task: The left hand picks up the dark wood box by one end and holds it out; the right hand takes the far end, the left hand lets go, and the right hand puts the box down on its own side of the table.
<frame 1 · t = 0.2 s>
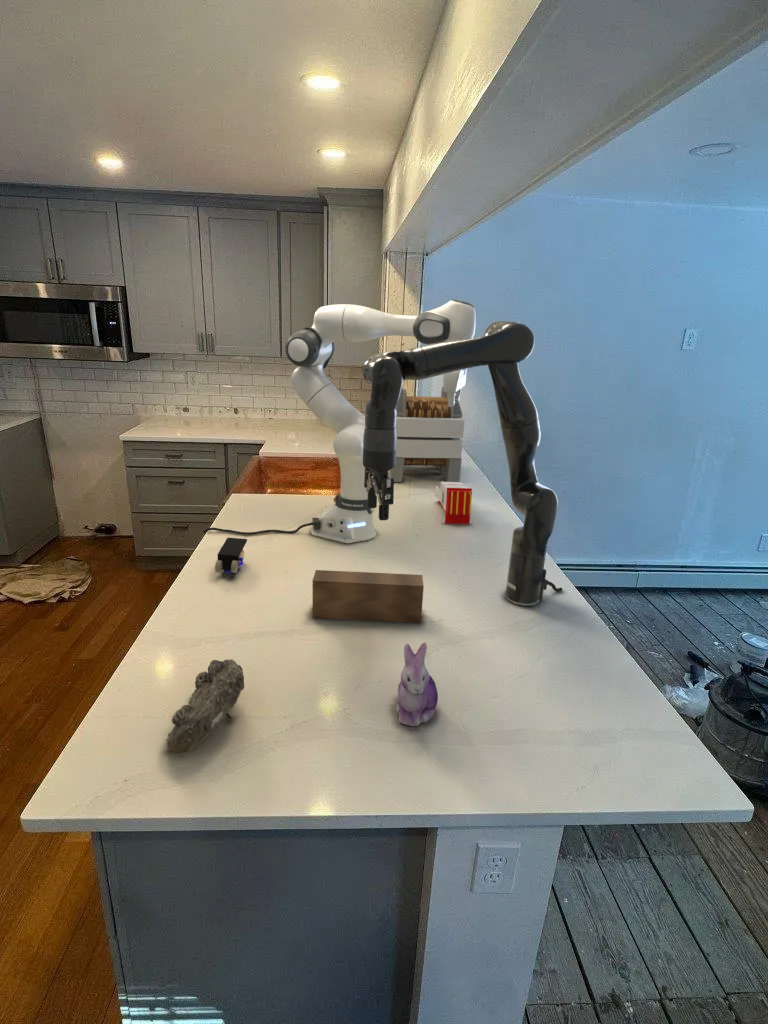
left hand: (453, 404, 174), 48 cm above the counter, tool pointing down, fingers open, 8 cm apart
right hand: (377, 513, 134), 29 cm above the counter, tool pointing down, fingers open, 8 cm apart
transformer: (419, 473, 275), on the counter
black wheeled vehicle: (232, 569, 168), on the counter
figurine: (415, 712, 112), on the counter
toy: (451, 512, 224), on the counter
fossil: (212, 717, 108), on the counter
box: (367, 614, 147), on the counter
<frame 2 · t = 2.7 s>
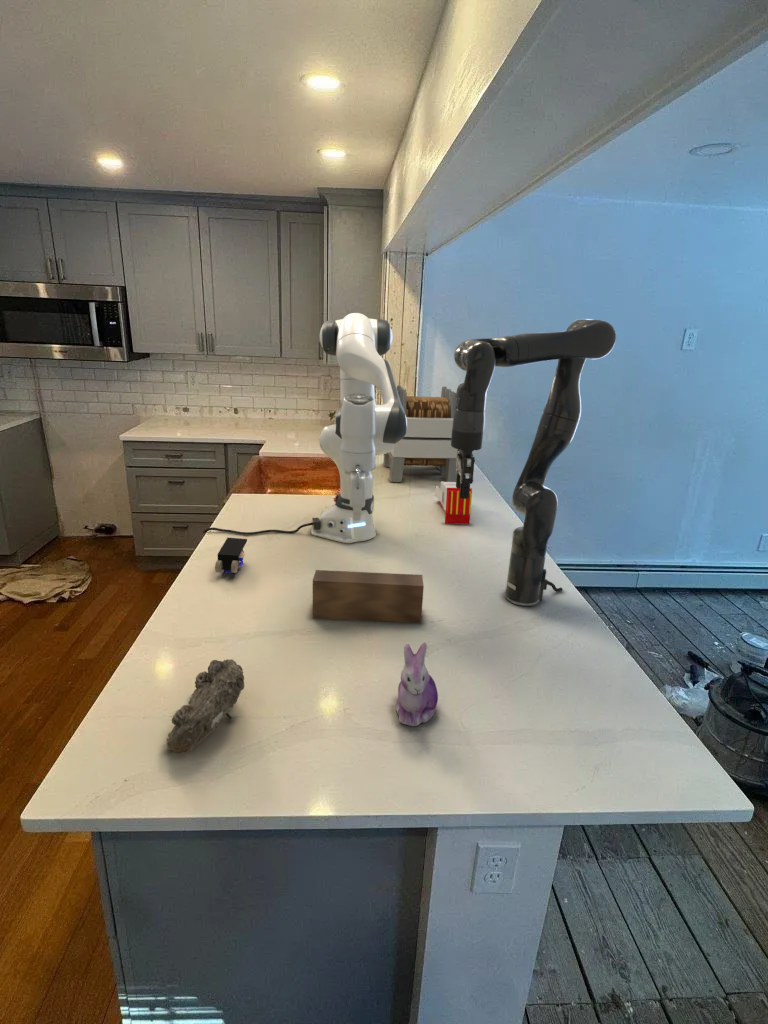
left hand: (356, 513, 145), 25 cm above the counter, tool pointing down, fingers open, 8 cm apart
right hand: (462, 492, 140), 33 cm above the counter, tool pointing down, fingers open, 8 cm apart
nothing on the counter moved.
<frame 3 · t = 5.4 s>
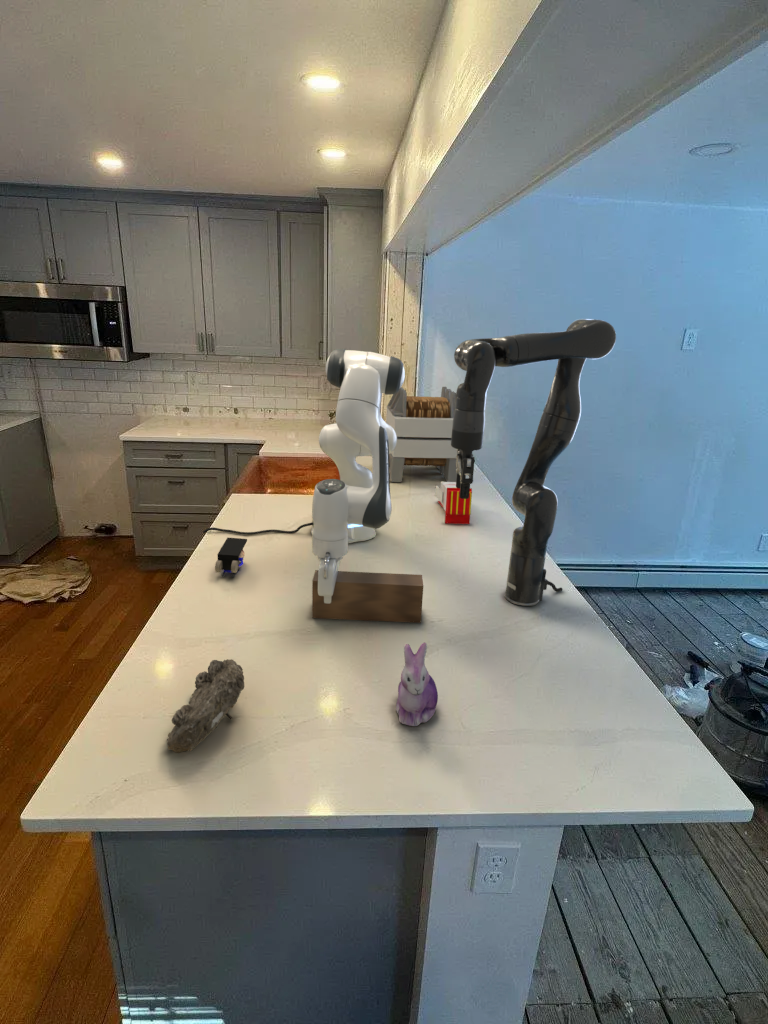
left hand: (329, 594, 145), 5 cm above the counter, tool pointing down, fingers closed on box, 6 cm apart
right hand: (462, 492, 140), 33 cm above the counter, tool pointing down, fingers open, 8 cm apart
box: (367, 614, 147), on the counter, touching left hand
everything else where it was.
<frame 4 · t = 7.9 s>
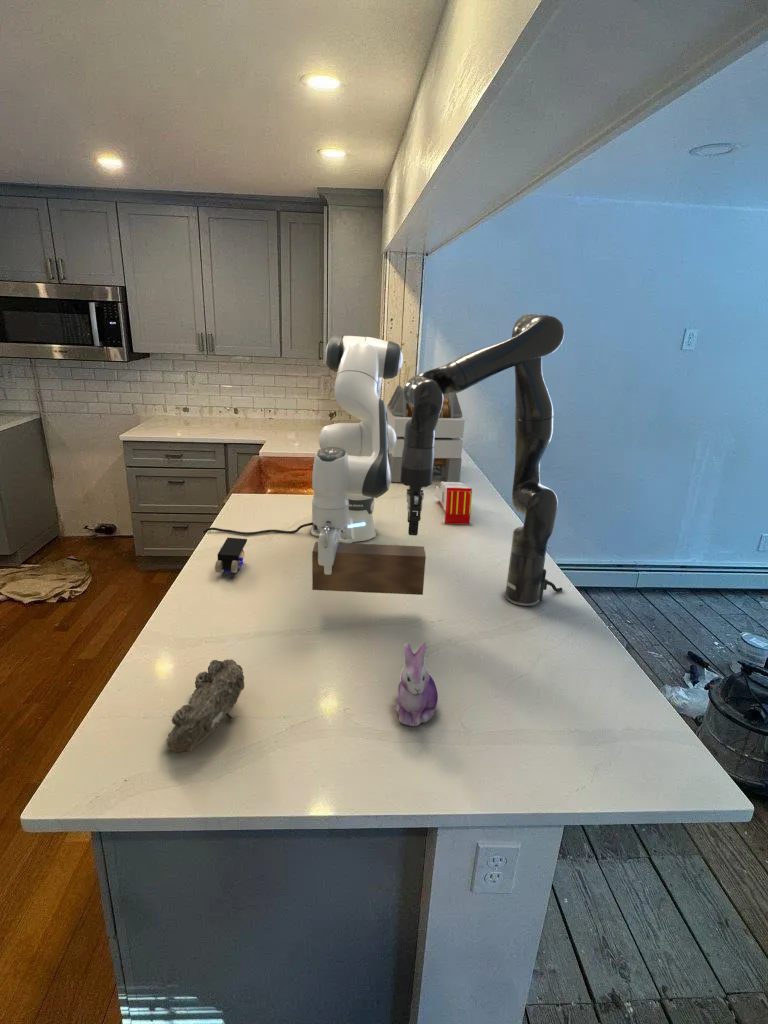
left hand: (329, 566, 142), 13 cm above the counter, tool pointing down, fingers closed on box, 6 cm apart
right hand: (412, 528, 139), 24 cm above the counter, tool pointing down, fingers open, 8 cm apart
box: (368, 586, 144), point 8 cm above the counter, touching left hand
everything else where it was.
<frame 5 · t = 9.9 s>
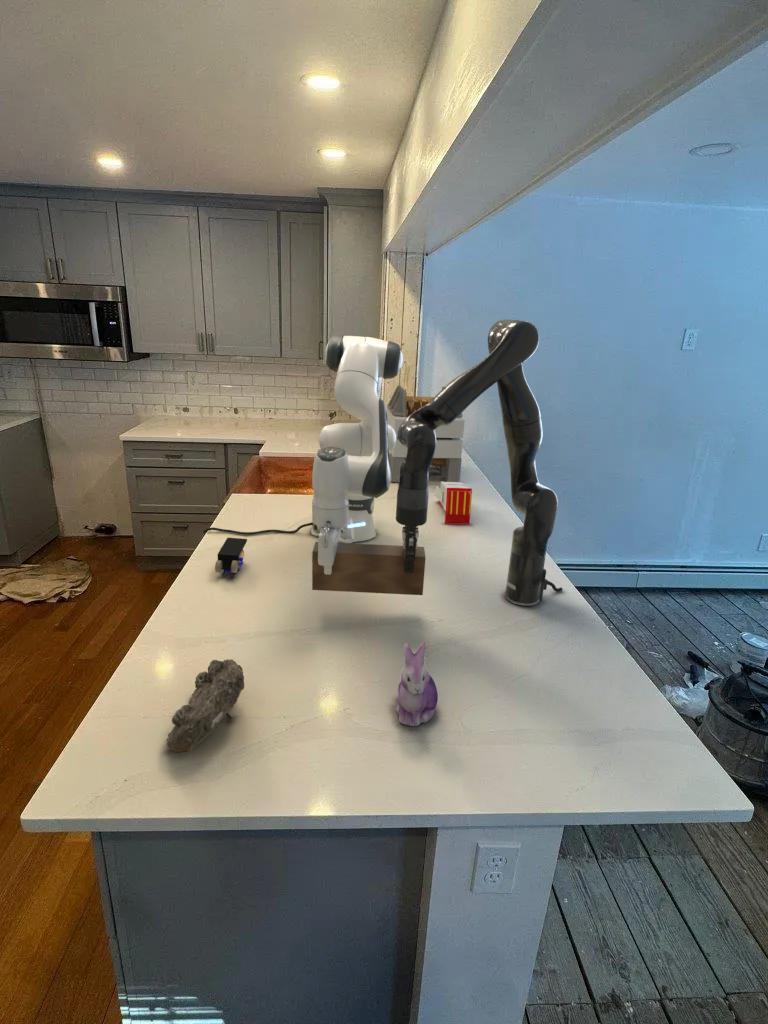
left hand: (329, 566, 142), 13 cm above the counter, tool pointing down, fingers closed on box, 6 cm apart
right hand: (408, 566, 142), 14 cm above the counter, tool pointing down, fingers closed on box, 6 cm apart
box: (367, 587, 144), point 8 cm above the counter, touching left hand, right hand
everything else where it was.
when the left hand's fingers open (13 cm above the counter, at t = 11.0 s): box stays where it is, held by the right hand.
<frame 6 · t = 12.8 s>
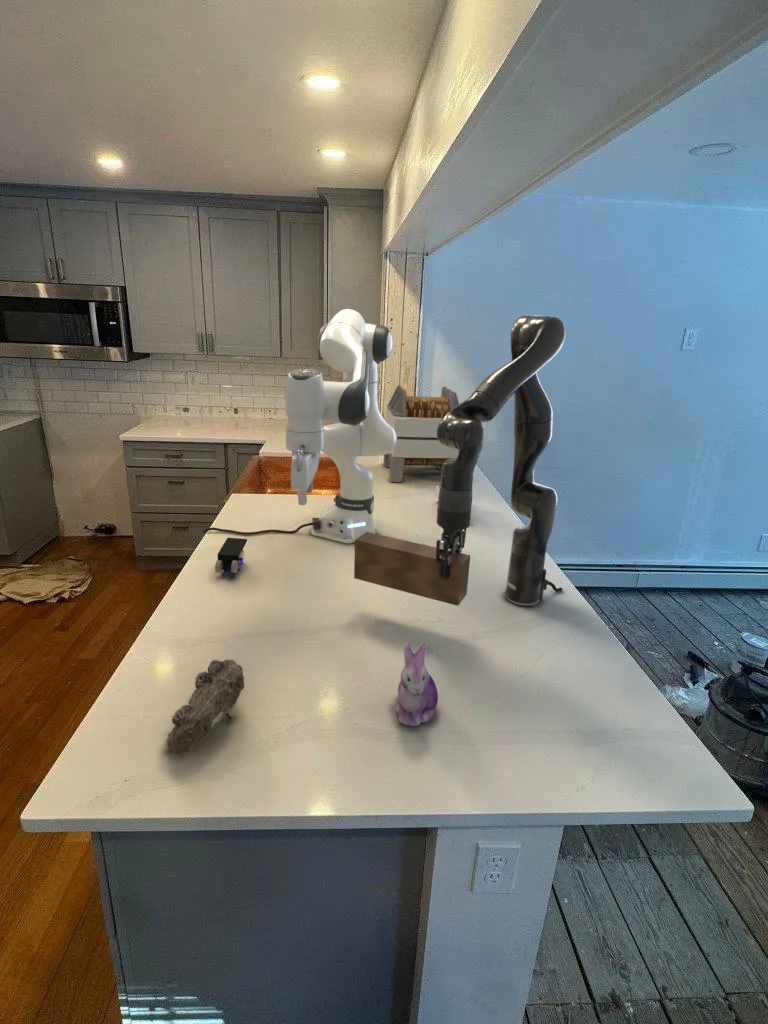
left hand: (305, 497, 136), 31 cm above the counter, tool pointing down, fingers open, 8 cm apart
right hand: (449, 572, 133), 17 cm above the counter, tool pointing down, fingers closed on box, 6 cm apart
box: (409, 586, 139), point 11 cm above the counter, touching right hand
everything else where it was.
when the right hand's fingers open (7 cm above the counter, at t = 15.7 s): box stays where it is, on the counter.
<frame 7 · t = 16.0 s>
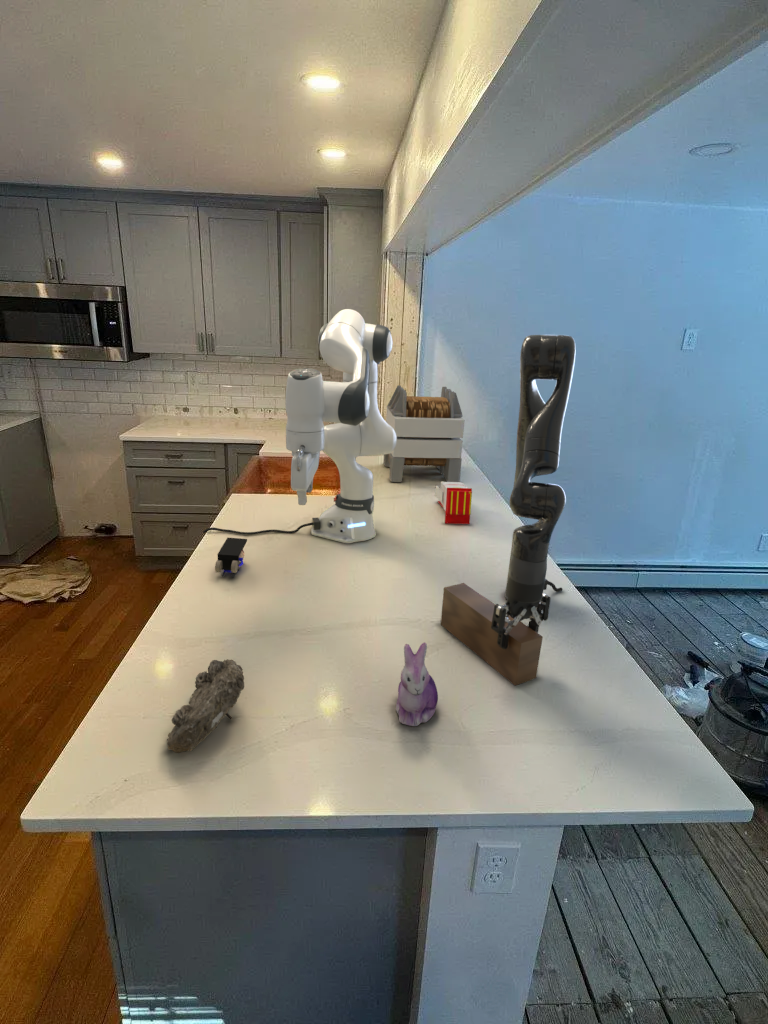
left hand: (305, 497, 136), 31 cm above the counter, tool pointing down, fingers open, 8 cm apart
right hand: (517, 642, 123), 8 cm above the counter, tool pointing down, fingers open, 8 cm apart
box: (484, 649, 134), on the counter
everything else where it was.
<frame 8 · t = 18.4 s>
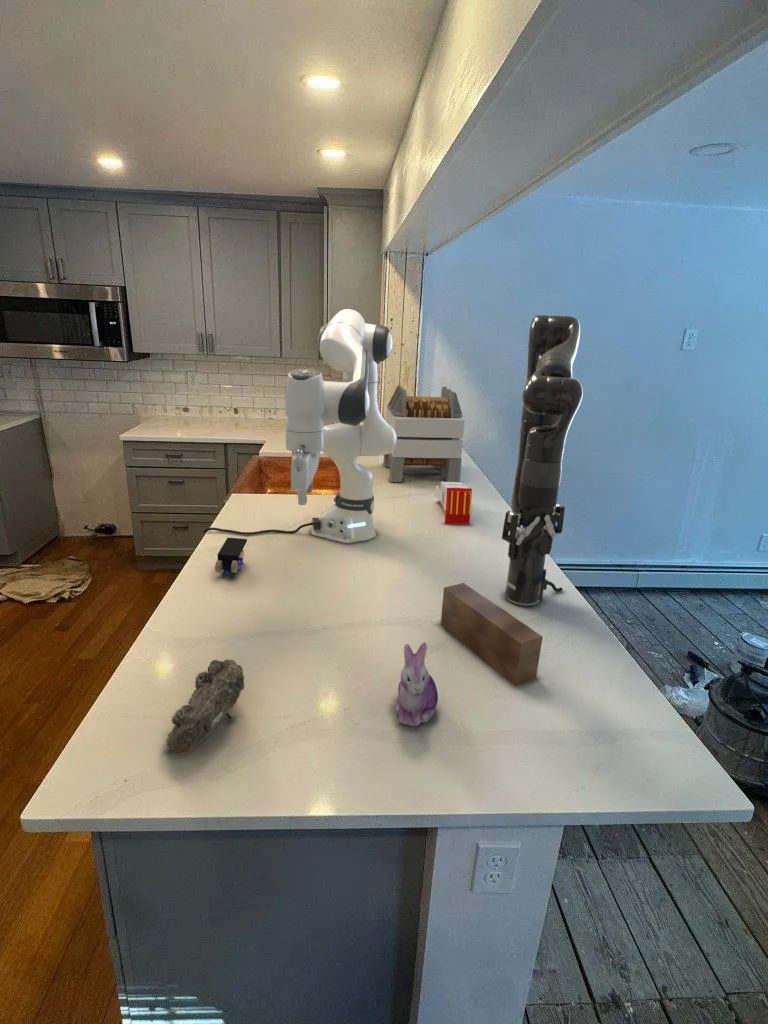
left hand: (305, 497, 136), 31 cm above the counter, tool pointing down, fingers open, 8 cm apart
right hand: (529, 556, 116), 28 cm above the counter, tool pointing down, fingers open, 8 cm apart
nothing on the counter moved.
at the end: box inside the target area (9.8 cm from its centre), on the counter; the left hand is holding nothing; the right hand is holding nothing; box at rest at the end (0.0 cm/s) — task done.
